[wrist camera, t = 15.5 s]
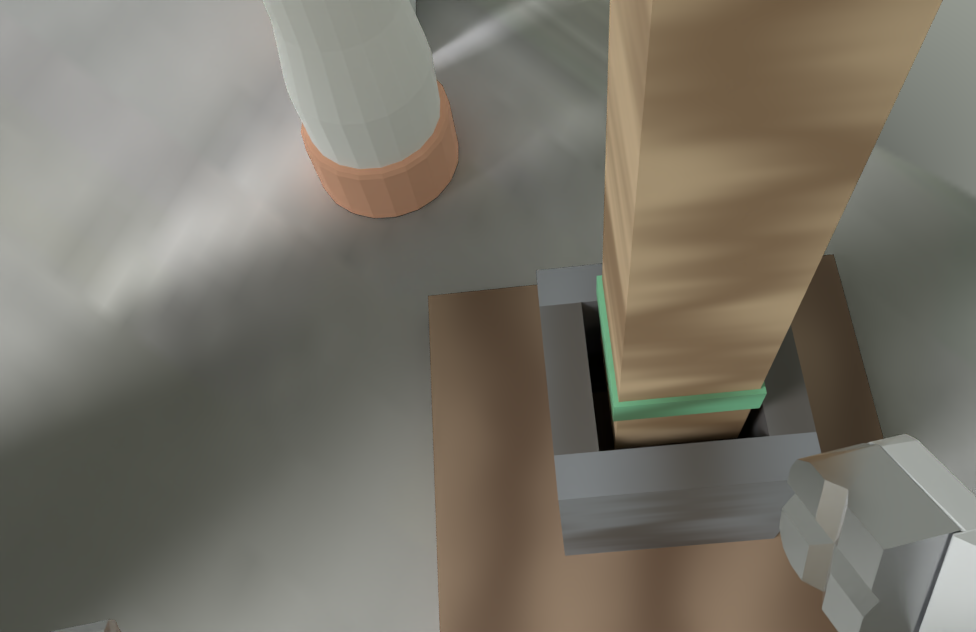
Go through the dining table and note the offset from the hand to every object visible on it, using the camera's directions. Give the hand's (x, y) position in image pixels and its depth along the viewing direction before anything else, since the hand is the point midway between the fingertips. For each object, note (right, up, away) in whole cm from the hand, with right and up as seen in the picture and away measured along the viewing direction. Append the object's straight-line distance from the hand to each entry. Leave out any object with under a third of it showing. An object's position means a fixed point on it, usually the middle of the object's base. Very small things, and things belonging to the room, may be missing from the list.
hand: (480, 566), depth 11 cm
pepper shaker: (-5, +11, +35) cm, 37 cm away
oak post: (+6, +1, +20) cm, 21 cm away
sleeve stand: (+7, -3, +27) cm, 28 cm away
